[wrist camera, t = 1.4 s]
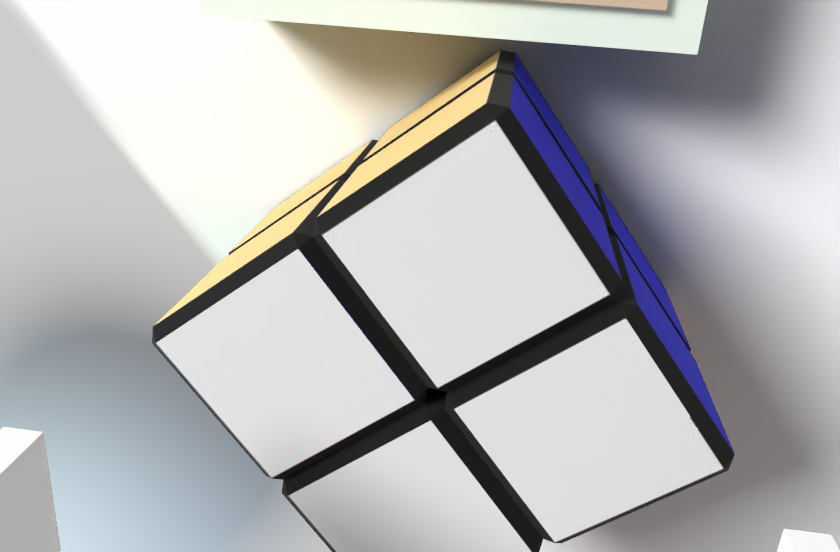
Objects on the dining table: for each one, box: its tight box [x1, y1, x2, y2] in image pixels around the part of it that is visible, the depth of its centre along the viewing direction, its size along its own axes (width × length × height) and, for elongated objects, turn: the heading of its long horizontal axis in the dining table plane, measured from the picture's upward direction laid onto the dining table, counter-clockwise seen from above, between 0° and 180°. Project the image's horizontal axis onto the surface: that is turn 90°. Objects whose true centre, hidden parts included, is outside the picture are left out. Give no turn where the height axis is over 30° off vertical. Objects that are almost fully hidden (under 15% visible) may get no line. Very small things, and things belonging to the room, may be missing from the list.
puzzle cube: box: [152, 50, 735, 552], centre depth 22 cm, size 10×10×10 cm
